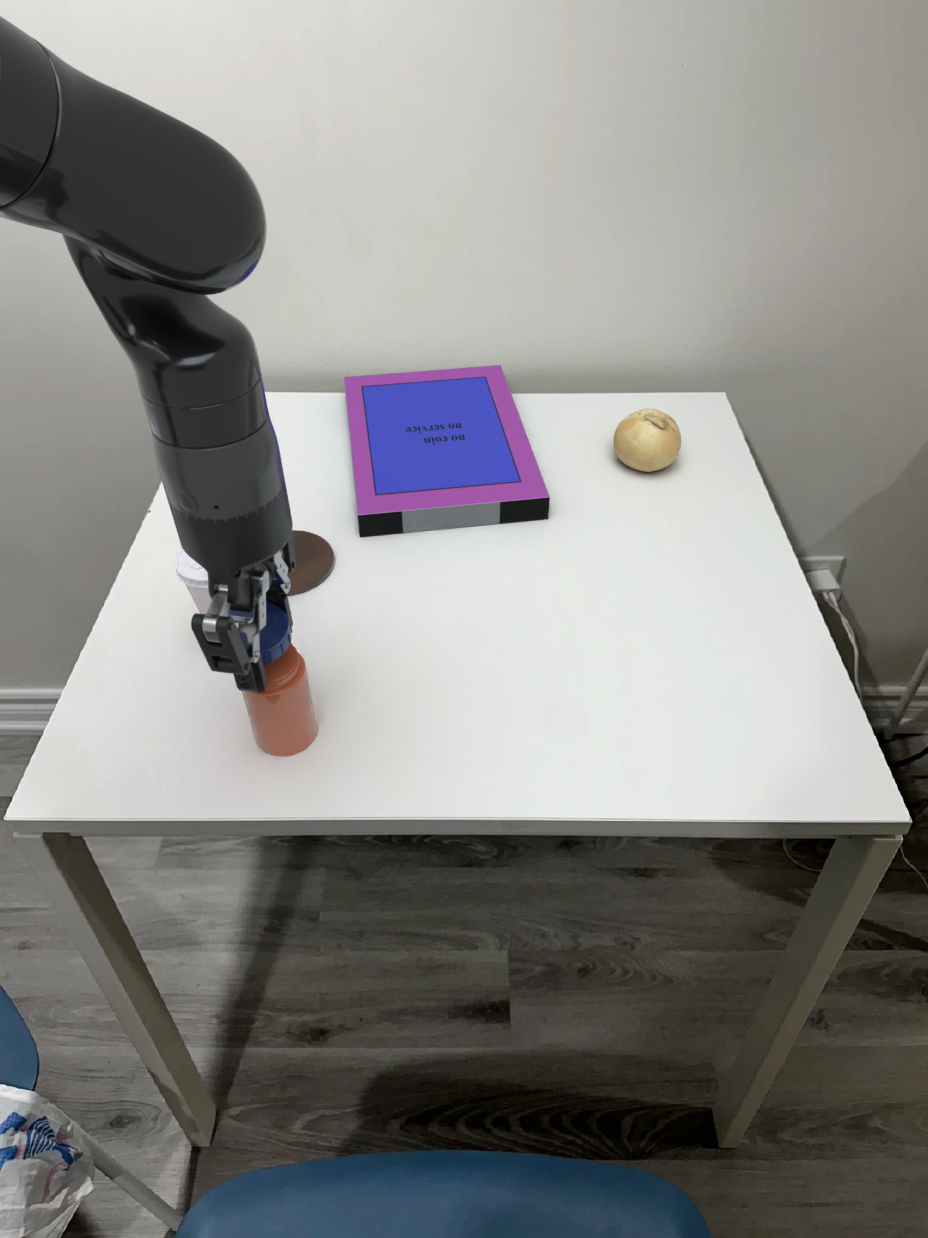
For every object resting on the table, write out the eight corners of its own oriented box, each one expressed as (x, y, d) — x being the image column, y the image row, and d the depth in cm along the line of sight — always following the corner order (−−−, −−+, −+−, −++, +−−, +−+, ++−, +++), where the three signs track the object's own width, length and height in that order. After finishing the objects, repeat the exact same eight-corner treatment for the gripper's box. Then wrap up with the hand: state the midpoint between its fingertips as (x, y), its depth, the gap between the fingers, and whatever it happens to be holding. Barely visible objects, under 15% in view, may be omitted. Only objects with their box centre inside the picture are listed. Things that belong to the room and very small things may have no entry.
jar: (248, 755, 72) (226, 683, 66) (262, 705, 76) (243, 633, 69) (311, 757, 72) (296, 686, 65) (322, 708, 76) (309, 636, 69)
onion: (600, 468, 102) (606, 416, 97) (625, 436, 107) (632, 385, 102) (663, 487, 99) (674, 434, 94) (686, 454, 104) (697, 402, 99)
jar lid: (278, 605, 68) (275, 592, 67) (302, 652, 64) (299, 639, 63) (205, 629, 66) (201, 616, 65) (226, 679, 63) (222, 666, 62)
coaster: (224, 590, 87) (223, 586, 86) (257, 530, 94) (256, 525, 93) (319, 601, 86) (319, 596, 85) (345, 539, 93) (344, 534, 92)
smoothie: (278, 625, 83) (252, 510, 73) (232, 666, 79) (199, 551, 69) (229, 601, 86) (198, 487, 76) (183, 640, 82) (144, 525, 72)
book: (500, 365, 114) (549, 497, 93) (500, 385, 116) (548, 519, 95) (343, 377, 112) (357, 515, 91) (345, 397, 114) (359, 537, 93)
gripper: (243, 556, 49) (285, 735, 61) (312, 424, 59) (337, 600, 71) (120, 544, 50) (186, 723, 62) (209, 415, 60) (251, 590, 72)
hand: (266, 656), depth 66 cm, fingers closed on jar lid, 6 cm apart
